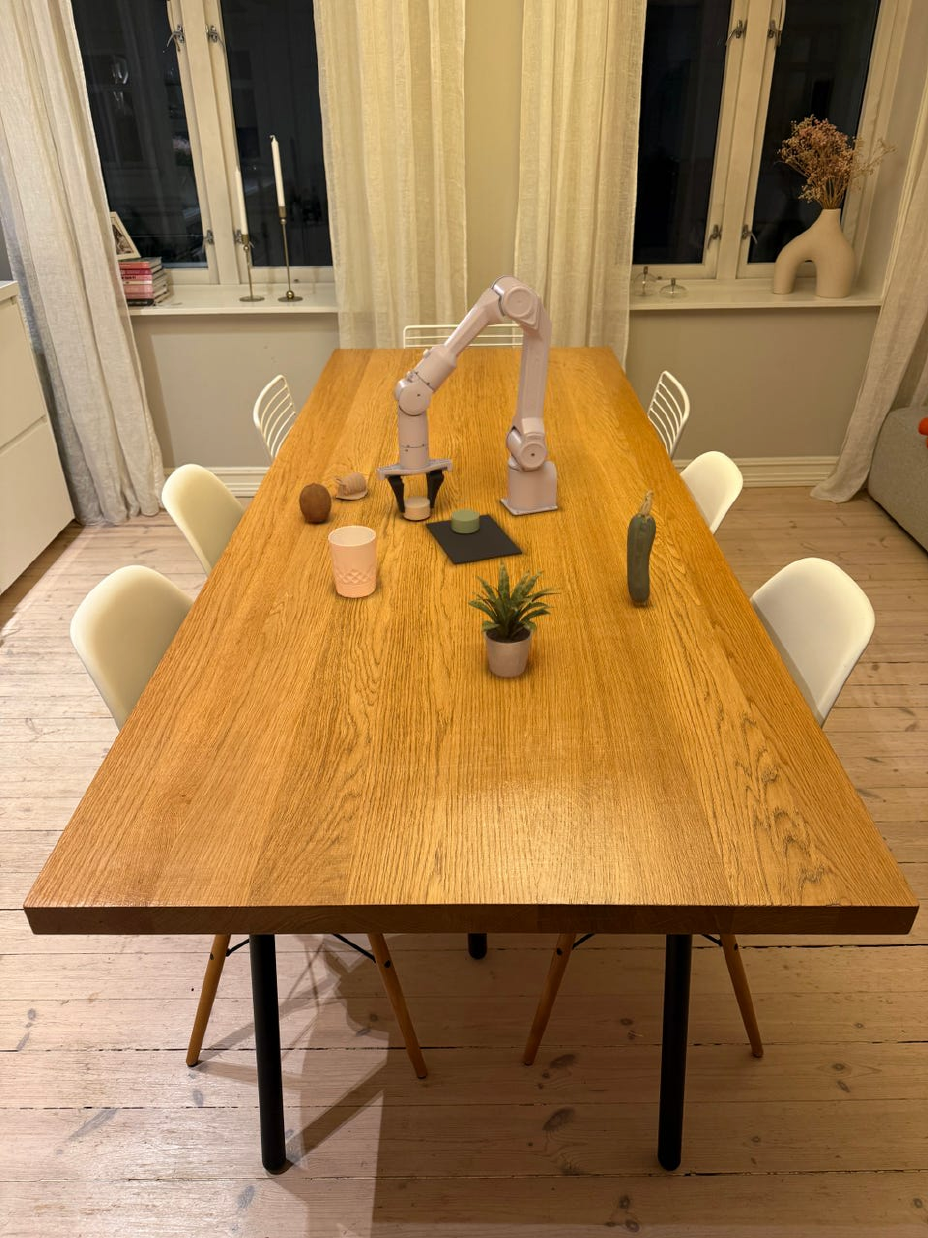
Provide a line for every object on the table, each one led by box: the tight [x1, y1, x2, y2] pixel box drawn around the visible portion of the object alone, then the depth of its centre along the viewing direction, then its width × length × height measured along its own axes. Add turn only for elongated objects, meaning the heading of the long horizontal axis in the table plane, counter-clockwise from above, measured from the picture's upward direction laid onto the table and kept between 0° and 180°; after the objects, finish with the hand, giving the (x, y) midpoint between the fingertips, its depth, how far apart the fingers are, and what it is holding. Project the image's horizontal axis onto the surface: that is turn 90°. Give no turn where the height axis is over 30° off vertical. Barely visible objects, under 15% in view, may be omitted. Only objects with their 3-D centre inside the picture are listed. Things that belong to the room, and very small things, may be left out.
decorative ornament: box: [333, 471, 369, 501], centre depth 197 cm, size 4×8×5 cm, turn 129°
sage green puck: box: [450, 508, 480, 533], centre depth 182 cm, size 5×5×3 cm
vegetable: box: [626, 488, 657, 607], centre depth 152 cm, size 4×4×20 cm
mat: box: [425, 513, 523, 565], centre depth 180 cm, size 13×18×1 cm
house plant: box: [467, 560, 563, 678], centre depth 136 cm, size 14×14×16 cm
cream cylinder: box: [402, 496, 431, 521], centre depth 188 cm, size 5×5×3 cm
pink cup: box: [327, 525, 377, 599], centre depth 161 cm, size 8×8×10 cm
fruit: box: [298, 482, 332, 523], centre depth 186 cm, size 6×6×8 cm
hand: (416, 509), depth 188 cm, fingers closed on cream cylinder, 5 cm apart
